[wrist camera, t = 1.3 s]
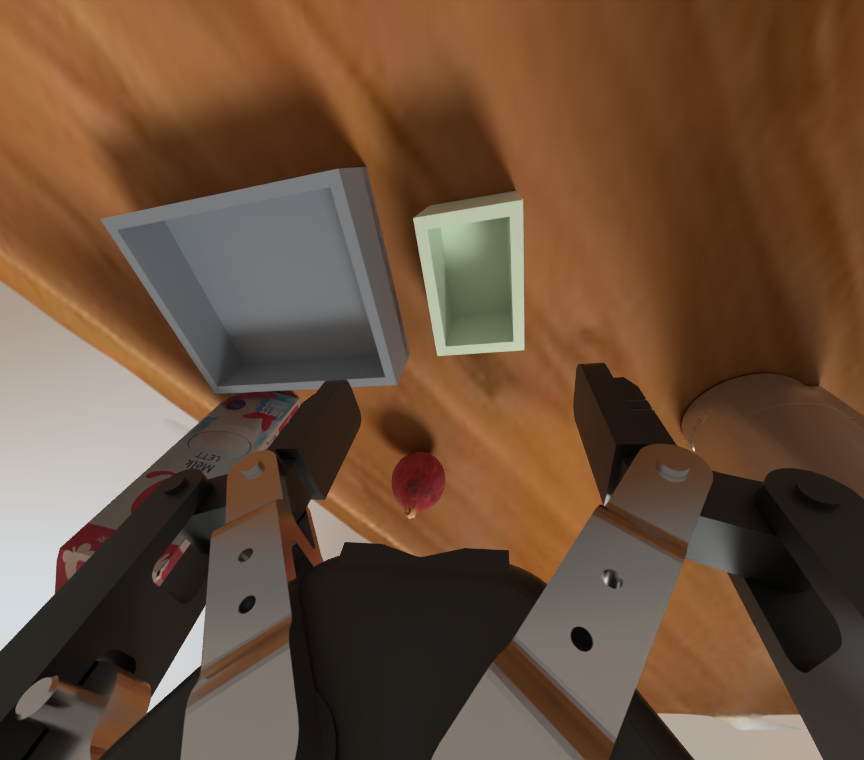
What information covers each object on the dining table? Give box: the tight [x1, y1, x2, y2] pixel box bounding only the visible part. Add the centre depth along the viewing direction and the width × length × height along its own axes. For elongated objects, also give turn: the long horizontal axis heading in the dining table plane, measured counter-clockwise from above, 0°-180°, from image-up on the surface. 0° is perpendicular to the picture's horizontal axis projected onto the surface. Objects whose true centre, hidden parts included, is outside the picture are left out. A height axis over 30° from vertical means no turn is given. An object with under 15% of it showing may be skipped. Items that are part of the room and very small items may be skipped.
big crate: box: [100, 167, 410, 394], centre depth 26 cm, size 18×15×5 cm
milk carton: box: [55, 391, 300, 594], centre depth 29 cm, size 7×7×22 cm
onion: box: [392, 452, 445, 519], centre depth 35 cm, size 6×6×8 cm
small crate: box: [413, 191, 524, 356], centre depth 22 cm, size 6×9×6 cm, turn 10°
